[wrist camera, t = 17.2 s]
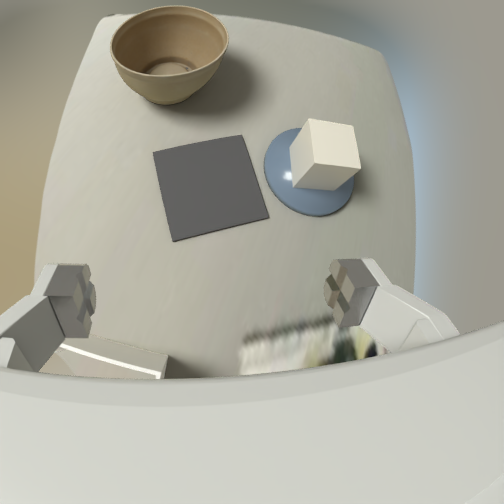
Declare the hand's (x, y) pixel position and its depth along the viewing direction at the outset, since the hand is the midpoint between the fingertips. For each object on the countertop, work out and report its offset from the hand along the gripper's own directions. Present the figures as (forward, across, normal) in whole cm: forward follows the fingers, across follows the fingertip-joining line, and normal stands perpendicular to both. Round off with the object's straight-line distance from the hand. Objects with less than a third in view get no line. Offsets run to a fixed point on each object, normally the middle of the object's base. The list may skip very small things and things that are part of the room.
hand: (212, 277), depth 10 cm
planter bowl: (+44, +4, -3) cm, 45 cm away
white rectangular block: (+33, -17, +7) cm, 38 cm away
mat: (+32, -2, +10) cm, 33 cm away
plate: (+34, -17, +8) cm, 38 cm away
